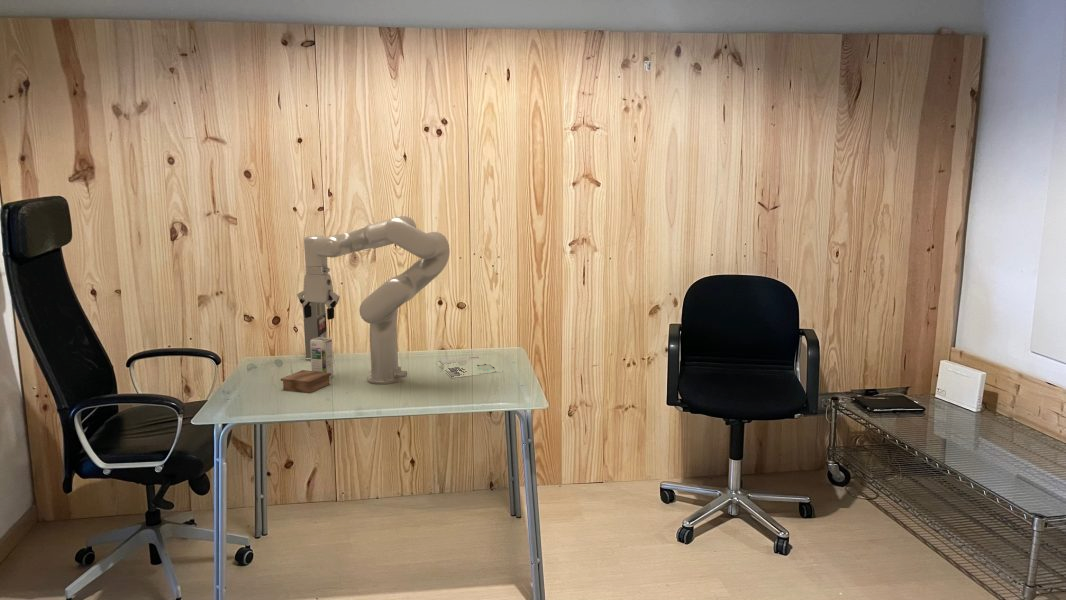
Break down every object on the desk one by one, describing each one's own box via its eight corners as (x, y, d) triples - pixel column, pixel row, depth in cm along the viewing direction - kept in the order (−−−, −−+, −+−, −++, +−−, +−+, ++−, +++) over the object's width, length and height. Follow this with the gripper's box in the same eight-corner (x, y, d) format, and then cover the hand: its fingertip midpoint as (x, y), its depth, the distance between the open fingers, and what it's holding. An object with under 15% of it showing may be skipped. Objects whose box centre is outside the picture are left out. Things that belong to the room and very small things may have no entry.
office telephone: (434, 358, 299) (484, 353, 306) (435, 365, 299) (484, 360, 307) (451, 372, 278) (503, 366, 285) (451, 379, 278) (503, 373, 285)
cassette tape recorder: (321, 360, 306) (317, 298, 302) (305, 360, 306) (301, 298, 302) (329, 352, 320) (326, 292, 315) (315, 352, 320) (311, 292, 315)
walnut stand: (331, 383, 272) (331, 372, 271) (310, 393, 261) (309, 381, 260) (303, 380, 276) (302, 370, 275) (281, 389, 265) (280, 378, 264)
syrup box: (311, 379, 278) (309, 339, 276) (320, 375, 284) (318, 336, 281) (325, 380, 277) (323, 340, 274) (334, 376, 282) (332, 337, 280)
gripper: (343, 270, 274) (346, 317, 277) (303, 268, 280) (306, 314, 283) (330, 273, 267) (333, 321, 270) (289, 271, 273) (292, 318, 276)
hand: (319, 318), depth 277 cm, fingers open, 9 cm apart
